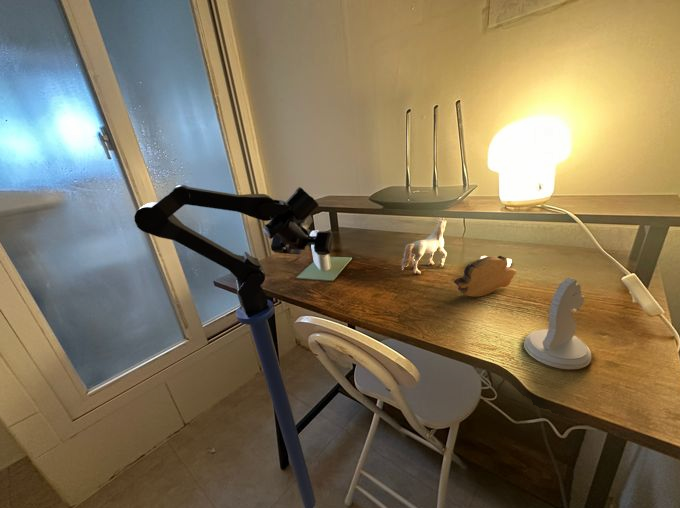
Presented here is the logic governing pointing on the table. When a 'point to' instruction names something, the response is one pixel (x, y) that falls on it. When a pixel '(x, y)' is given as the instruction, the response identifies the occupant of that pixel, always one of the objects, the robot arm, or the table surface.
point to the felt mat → (329, 275)
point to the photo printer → (320, 257)
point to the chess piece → (561, 332)
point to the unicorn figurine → (426, 248)
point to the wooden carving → (485, 276)
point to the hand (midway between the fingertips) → (313, 253)
